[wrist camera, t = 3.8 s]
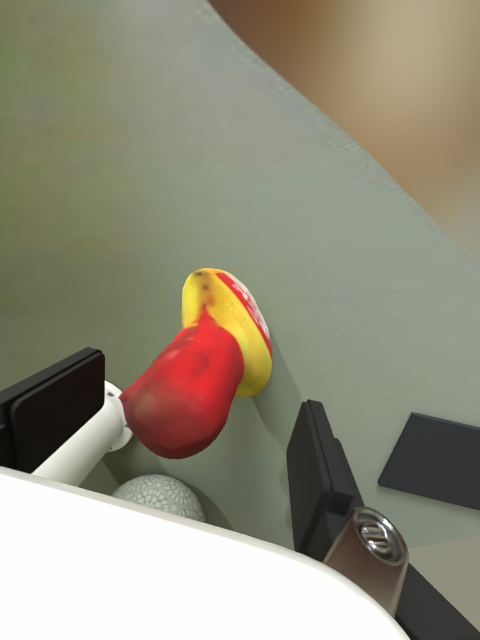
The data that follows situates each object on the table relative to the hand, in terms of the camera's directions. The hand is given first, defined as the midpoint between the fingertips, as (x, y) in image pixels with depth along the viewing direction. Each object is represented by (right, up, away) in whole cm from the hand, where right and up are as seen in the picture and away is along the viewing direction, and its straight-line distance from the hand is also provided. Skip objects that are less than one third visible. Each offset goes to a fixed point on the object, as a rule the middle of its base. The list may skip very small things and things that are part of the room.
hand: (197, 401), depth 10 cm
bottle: (+2, +5, +17) cm, 18 cm away
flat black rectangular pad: (+30, -15, +19) cm, 39 cm away
